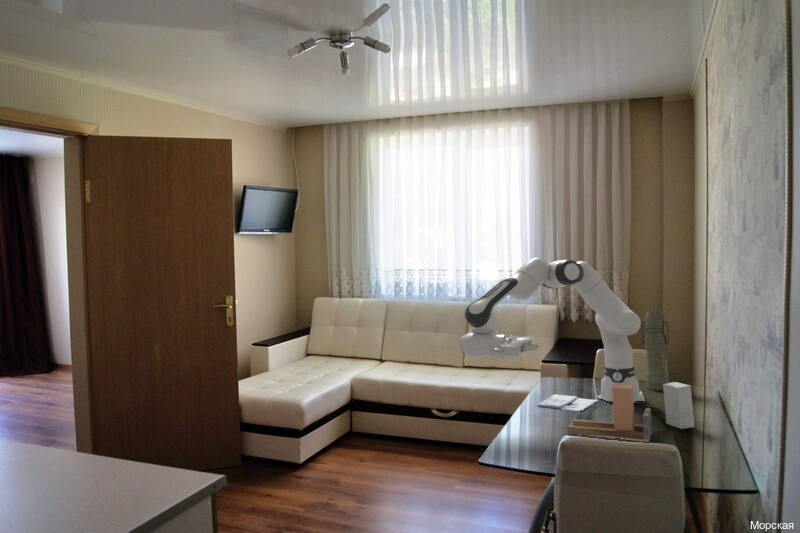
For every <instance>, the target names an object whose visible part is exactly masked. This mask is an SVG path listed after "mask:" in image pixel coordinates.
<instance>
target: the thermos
mask: <svg viewBox="0 0 800 533" xmlns="http://www.w3.org/2000/svg"><path fill="white" fill-rule="evenodd" d="M663 314H664V313H663V312H662V311H661V310H660V309H659V310H658V309H649V310H648V311H646V314H645V316H644V320H642V321H641V325H640V339H641V344H642V345H644V349H645V351H646V354H645V355H646V372H647V373H646V374H645V379H646V380H645V382H646V389H647V390H649V391H658V392H660V391H661V392H664V391H663V384H666V383H669V377H668V373H667V359H666V356H667V354H666V351H667V346H668V345H669V344H670V343H671V342H670V340H671V339H670V324H669V322H668V321H667V320H665V318H664V315H663ZM644 324H645V336H644ZM665 325H666V334H665V330H664V328H665Z"/></svg>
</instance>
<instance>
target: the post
mask: <svg viewBox="0 0 800 533" xmlns="http://www.w3.org/2000/svg"><path fill="white" fill-rule="evenodd" d="M612 391H613V403H612V409H613V413H612V414H613V422H614V429H617V430H628V431H635V405H634V404H635V403H634V400H633V385H619V384H614V386H613V387H612Z"/></svg>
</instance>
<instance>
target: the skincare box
mask: <svg viewBox="0 0 800 533" xmlns="http://www.w3.org/2000/svg"><path fill="white" fill-rule="evenodd" d="M662 392H663V398H664V399H663V400H664V401H663V402H664V411H665V412H664V413H665V424H667V425H669V426H672V427H674V428H678V429H680V430H683V429H691V428H692V429H693V428H695V416H694V407H693V397H692V385H690V384H686V383H681V382H678V381H672V382H668V383H666V384H663V391H662Z"/></svg>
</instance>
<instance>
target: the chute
mask: <svg viewBox="0 0 800 533" xmlns="http://www.w3.org/2000/svg"><path fill="white" fill-rule="evenodd" d="M651 410H652V409H651V408H649V407H645V410H644V412H643V415H642V424H639V423H638V424H637V423H636V424H635V431H628V430H617V429H614V421H603V420H602V421H599V420H588V419H579V418H578V419H577V418H576V419H575V418H572V421H571V422H572V425H570V424H569V425H567V426H566V428H567V429H566V430H567V435H570V436H571V435H573V434H582V435H593V436H600V437H599V438H603V437H605V438H606V439H612V440H613V439H615V438H620V439H619V440H623V439H625V441H626V440H627V441H636V442H637V441H638V442H646V443H649V442H650V438H651V437H652V436H651V435H652V434H653V433H652V432H653V431H652V411H651ZM582 435H581V436H582ZM615 440H616V439H615Z"/></svg>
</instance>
